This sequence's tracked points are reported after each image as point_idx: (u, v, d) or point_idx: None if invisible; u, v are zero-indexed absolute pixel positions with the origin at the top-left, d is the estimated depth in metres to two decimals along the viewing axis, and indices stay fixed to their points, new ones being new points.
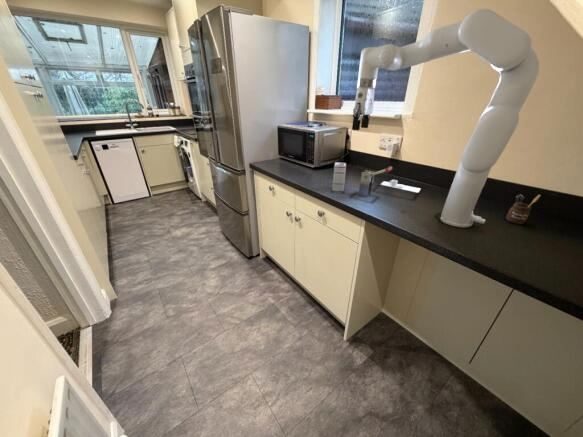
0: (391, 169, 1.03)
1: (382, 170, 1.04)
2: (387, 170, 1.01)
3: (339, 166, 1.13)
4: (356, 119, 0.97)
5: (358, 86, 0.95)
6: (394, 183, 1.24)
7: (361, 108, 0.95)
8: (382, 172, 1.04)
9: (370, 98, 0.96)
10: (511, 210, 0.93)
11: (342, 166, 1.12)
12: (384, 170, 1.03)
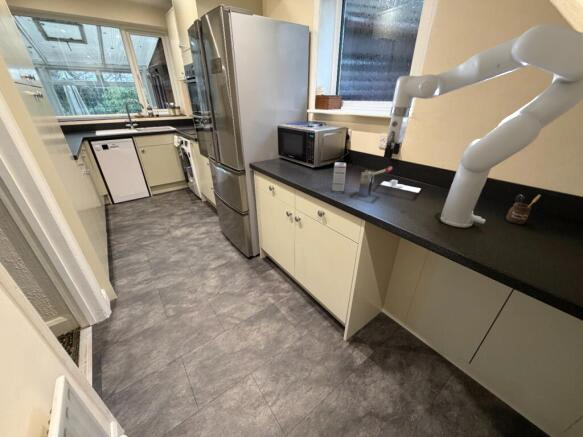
0: (391, 169, 1.03)
1: (382, 170, 1.04)
2: (387, 170, 1.01)
3: (339, 166, 1.13)
4: (389, 148, 0.93)
5: (392, 114, 0.91)
6: (394, 183, 1.24)
7: (395, 137, 0.92)
8: (382, 172, 1.04)
9: (404, 126, 0.92)
10: (511, 210, 0.93)
11: (342, 166, 1.12)
12: (384, 170, 1.03)
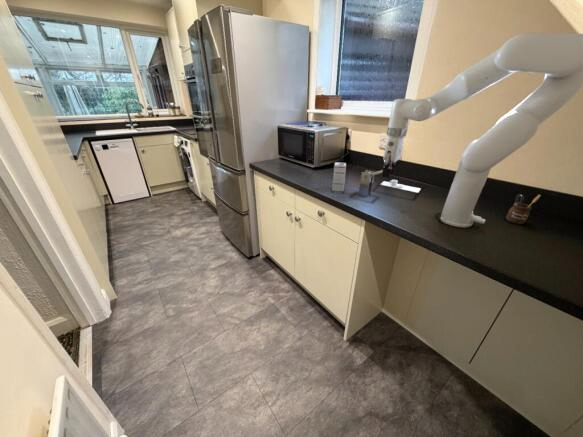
0: (391, 169, 1.03)
1: (382, 170, 1.04)
2: None
3: (339, 166, 1.13)
4: (387, 168, 0.99)
5: (389, 134, 0.95)
6: (394, 183, 1.24)
7: (391, 159, 0.96)
8: None
9: (400, 146, 0.96)
10: (511, 210, 0.93)
11: (342, 166, 1.12)
12: None
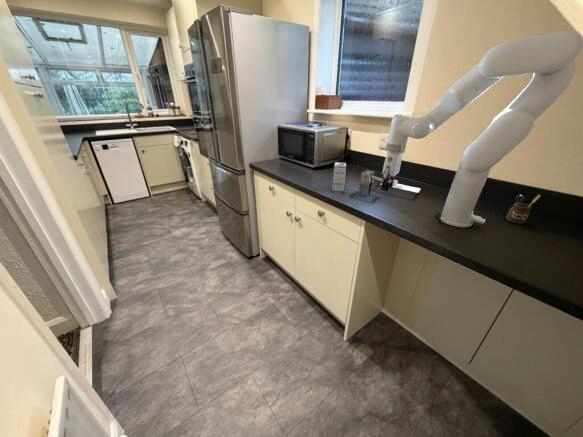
0: None
1: None
2: None
3: (339, 166, 1.13)
4: (386, 182, 1.02)
5: (388, 150, 0.97)
6: (394, 183, 1.24)
7: (390, 174, 0.98)
8: None
9: (399, 161, 0.98)
10: (511, 210, 0.93)
11: (342, 166, 1.12)
12: None
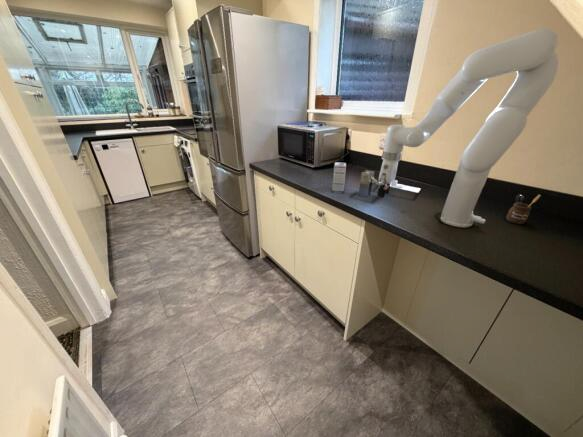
0: (386, 189, 1.08)
1: None
2: None
3: (339, 166, 1.13)
4: (382, 189, 1.04)
5: (384, 158, 0.99)
6: (394, 183, 1.24)
7: (386, 181, 1.01)
8: None
9: (395, 168, 1.00)
10: (511, 210, 0.93)
11: (342, 166, 1.12)
12: None
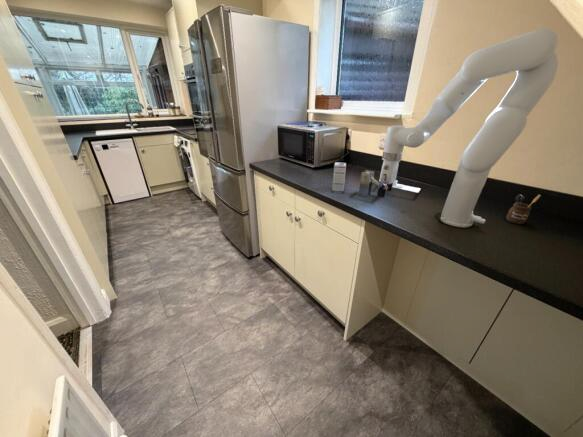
0: None
1: None
2: None
3: (339, 166, 1.13)
4: (382, 188, 1.01)
5: (384, 158, 0.99)
6: (394, 183, 1.24)
7: (387, 179, 1.00)
8: None
9: (395, 169, 1.00)
10: (511, 210, 0.93)
11: (342, 166, 1.12)
12: None
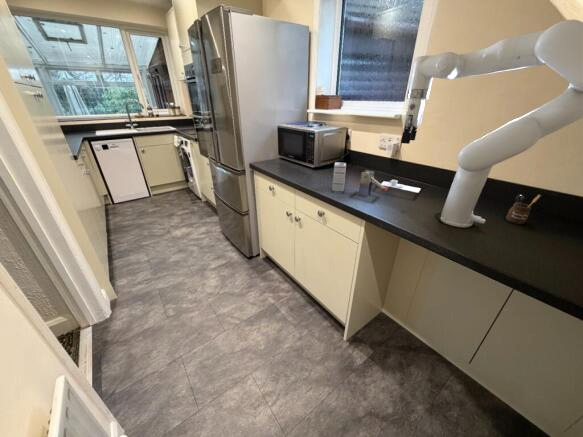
0: None
1: (380, 185, 1.07)
2: (383, 190, 1.05)
3: (339, 166, 1.13)
4: (407, 132, 0.90)
5: (409, 97, 0.88)
6: (394, 183, 1.24)
7: (413, 120, 0.88)
8: (379, 186, 1.08)
9: (422, 109, 0.89)
10: (511, 210, 0.93)
11: (342, 166, 1.12)
12: (381, 186, 1.07)
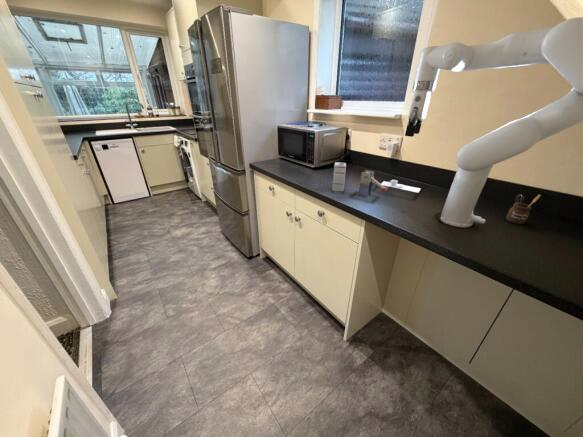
0: None
1: (380, 185, 1.07)
2: (383, 190, 1.05)
3: (339, 166, 1.13)
4: (411, 125, 0.89)
5: (415, 89, 0.87)
6: (394, 183, 1.24)
7: (418, 113, 0.87)
8: (379, 186, 1.08)
9: (427, 102, 0.88)
10: (511, 210, 0.93)
11: (342, 166, 1.12)
12: (381, 186, 1.07)
